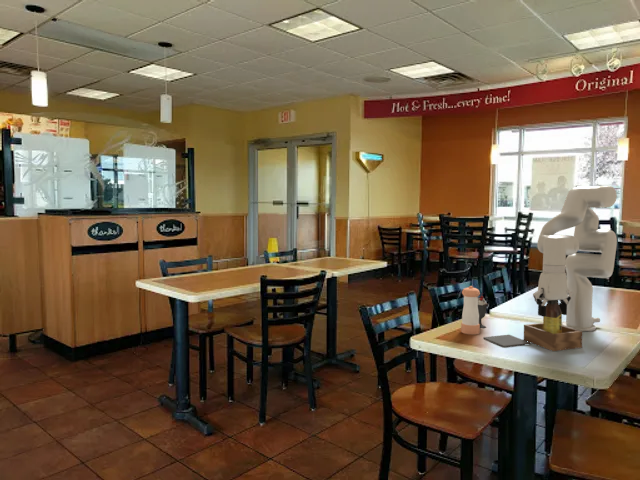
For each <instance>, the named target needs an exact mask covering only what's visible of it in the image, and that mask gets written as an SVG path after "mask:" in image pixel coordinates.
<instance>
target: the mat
mask: <svg viewBox="0 0 640 480" xmlns="http://www.w3.org/2000/svg"><path fill="white" fill-rule="evenodd" d="M483 339H484V340H485V341H487V342H490V343H493V344H495V345H497V346H499V347H502V348H509V347H510V346H512V347H518V346H517V345H520V346H526V345H525V344H529V345H531V344H532V343H530V342H527V341H525V340H524V339H521V338H519V337H517V336H514V335H511V334H502V335H491V336H483ZM483 339H482V340H483Z"/></svg>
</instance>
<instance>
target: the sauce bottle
mask: <svg viewBox="0 0 640 480" xmlns="http://www.w3.org/2000/svg"><path fill="white" fill-rule="evenodd" d="M559 303H560V302H559V300H551V301H547V302H546V304H545V306H546V316H545V317H543V316H542V319H543V320H542V321H543V322H542V323H543V330H544V331H547V332H550V333H553V334H556V333H562V323H563V319H562V318H563V314H562V312H561V309H560V306H559Z"/></svg>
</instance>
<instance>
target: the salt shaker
mask: <svg viewBox="0 0 640 480" xmlns="http://www.w3.org/2000/svg"><path fill="white" fill-rule="evenodd" d="M461 293H462V296H463V308H462V315H461V323H460V331H461V333H463V334H465V335H479V334H480V333H481V332H480V330H481V328H480V325H479V312H478V297H480V296H481V293H480V290H479V289H478V288H476V287H474V286H473V285H470V286H468V287H464V288H463V289H462V291H461Z"/></svg>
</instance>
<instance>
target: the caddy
mask: <svg viewBox="0 0 640 480" xmlns="http://www.w3.org/2000/svg"><path fill="white" fill-rule="evenodd" d="M523 340H525V341H528V342H531V344H533V345H535V344H536V346H538V345H539V347H541V348H543V347H544V349H546V350H549V351H551V350H552V351H551V352H557V351H565V350H566V351H567V350H573V349H574V350H575V349H581V348H583V331H579V330H576V329H572V328H569V327H566V326H563V325H562V333H556V334H553V333H550V332H547V331H544V330H543V322H538V323H529V324H523Z"/></svg>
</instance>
